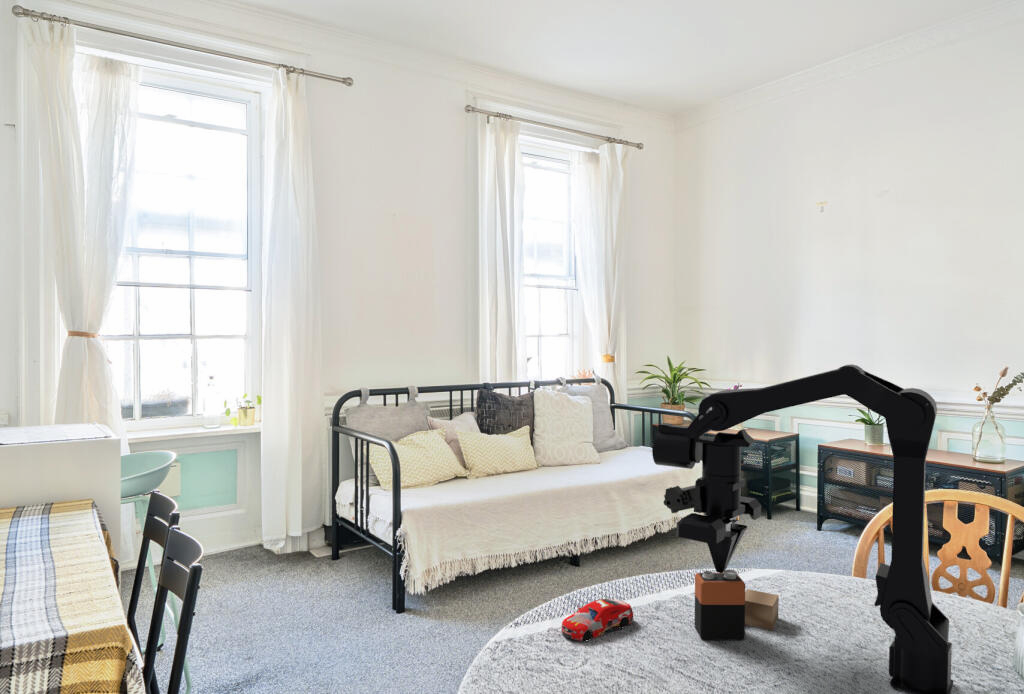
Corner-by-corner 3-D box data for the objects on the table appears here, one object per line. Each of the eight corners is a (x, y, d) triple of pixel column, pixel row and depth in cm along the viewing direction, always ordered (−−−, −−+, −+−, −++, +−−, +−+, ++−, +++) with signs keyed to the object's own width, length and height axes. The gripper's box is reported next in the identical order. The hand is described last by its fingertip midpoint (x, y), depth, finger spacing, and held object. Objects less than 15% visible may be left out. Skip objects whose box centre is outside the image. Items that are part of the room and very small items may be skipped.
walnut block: (778, 619, 113) (778, 595, 112) (772, 631, 108) (772, 606, 108) (746, 612, 115) (747, 589, 115) (740, 623, 111) (740, 599, 111)
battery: (745, 641, 105) (746, 577, 104) (701, 641, 105) (701, 576, 104) (736, 628, 109) (737, 566, 108) (693, 628, 109) (694, 566, 109)
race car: (576, 648, 103) (576, 622, 103) (554, 634, 108) (554, 609, 108) (639, 625, 111) (639, 601, 111) (616, 613, 115) (616, 589, 115)
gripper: (698, 456, 118) (697, 545, 119) (645, 475, 104) (644, 577, 104) (763, 465, 111) (761, 560, 111) (715, 487, 97) (714, 595, 97)
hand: (720, 571), depth 106 cm, fingers closed, pressing on battery
